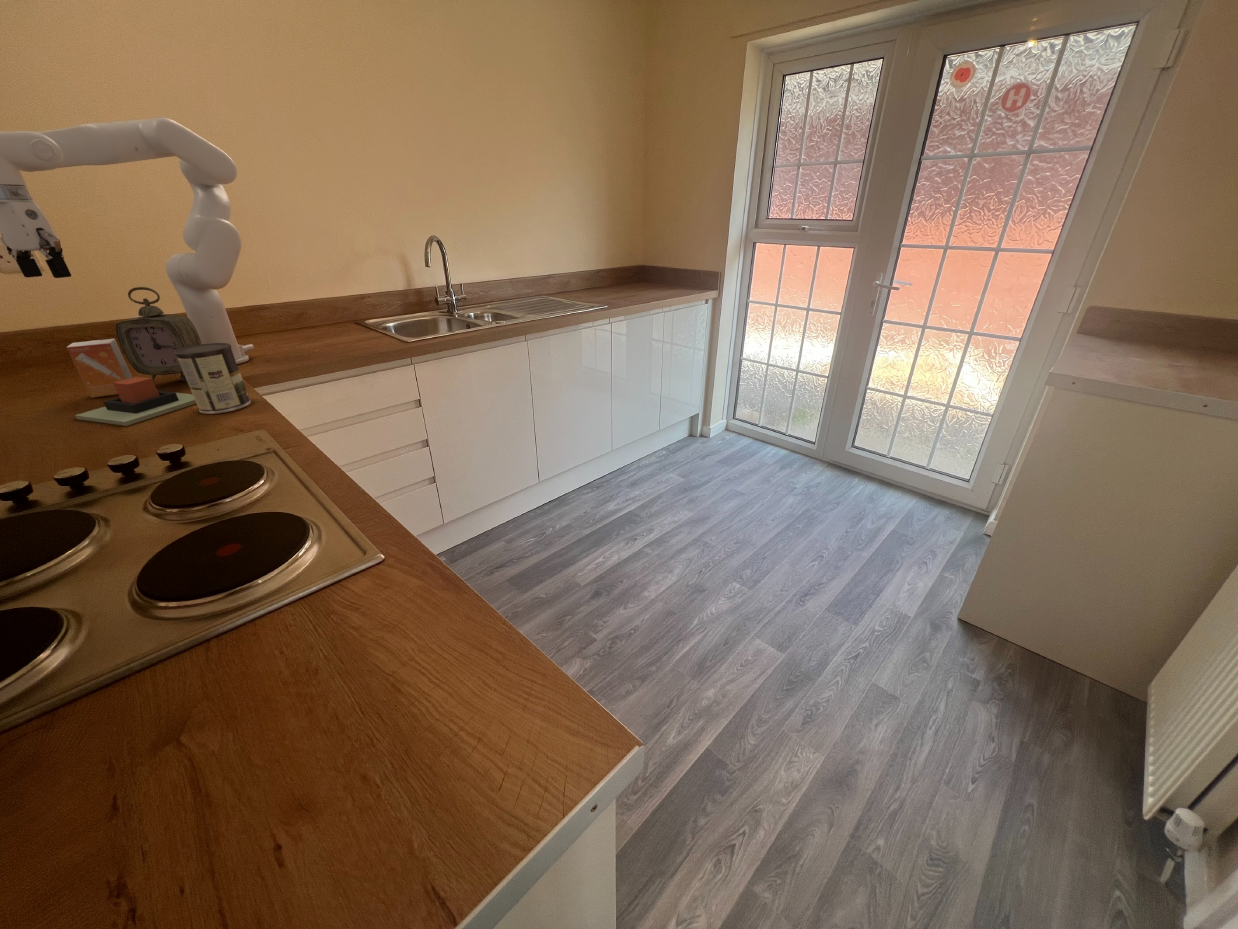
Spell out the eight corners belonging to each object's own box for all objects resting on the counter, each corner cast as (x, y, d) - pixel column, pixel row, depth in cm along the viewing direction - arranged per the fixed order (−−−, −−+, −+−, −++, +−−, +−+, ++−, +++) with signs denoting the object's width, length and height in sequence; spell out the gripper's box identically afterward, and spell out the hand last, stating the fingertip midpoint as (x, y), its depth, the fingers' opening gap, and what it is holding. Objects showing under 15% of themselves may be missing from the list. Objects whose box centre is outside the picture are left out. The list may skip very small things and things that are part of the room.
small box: (91, 398, 126) (64, 347, 120) (96, 392, 131) (72, 342, 125) (133, 392, 130) (109, 342, 124) (137, 386, 135) (115, 337, 129)
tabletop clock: (140, 389, 133) (95, 290, 121) (162, 379, 141) (122, 285, 129) (200, 385, 135) (161, 288, 123) (218, 376, 143) (183, 283, 131)
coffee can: (231, 397, 125) (210, 341, 119) (261, 401, 122) (241, 344, 116) (187, 411, 116) (162, 351, 110) (219, 416, 113) (194, 354, 107)
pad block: (147, 400, 121) (136, 376, 118) (162, 402, 120) (152, 378, 117) (124, 407, 117) (112, 382, 114) (139, 409, 115) (128, 384, 113)
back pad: (161, 394, 128) (156, 383, 127) (208, 399, 124) (203, 388, 123) (76, 419, 113) (70, 406, 112) (126, 426, 109) (120, 413, 107)
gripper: (55, 194, 112) (93, 275, 120) (2, 196, 116) (42, 274, 124) (12, 193, 106) (55, 279, 113) (-43, 195, 109) (2, 278, 117)
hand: (48, 277), depth 119 cm, fingers open, 9 cm apart
